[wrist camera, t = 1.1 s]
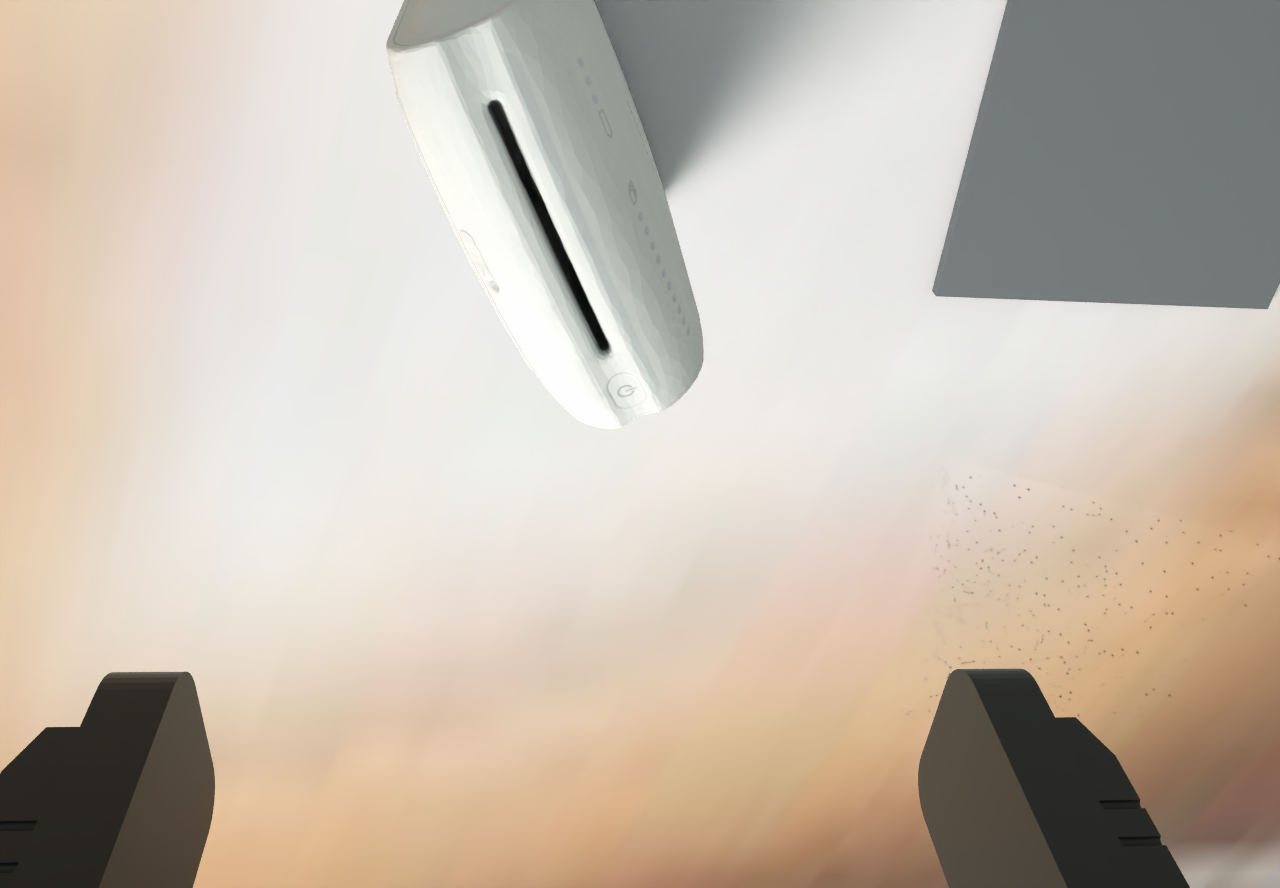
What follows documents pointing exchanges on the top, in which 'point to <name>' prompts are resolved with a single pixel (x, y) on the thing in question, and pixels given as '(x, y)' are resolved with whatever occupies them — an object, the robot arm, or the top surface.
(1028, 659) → the top surface
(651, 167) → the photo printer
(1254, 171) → the slate pad
